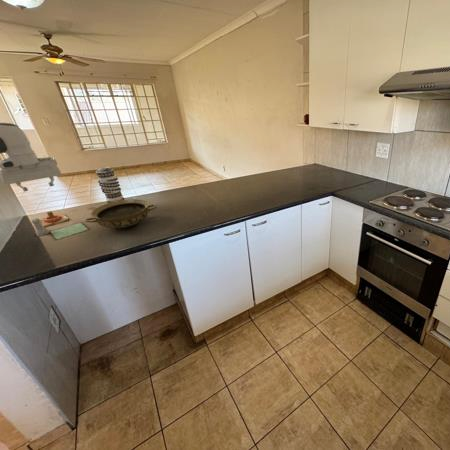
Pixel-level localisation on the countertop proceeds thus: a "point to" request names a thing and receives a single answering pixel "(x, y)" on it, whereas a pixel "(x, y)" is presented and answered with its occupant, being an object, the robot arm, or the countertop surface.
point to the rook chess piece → (39, 227)
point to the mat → (68, 231)
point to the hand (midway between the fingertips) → (39, 188)
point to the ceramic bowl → (121, 213)
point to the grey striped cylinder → (109, 184)
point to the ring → (47, 219)
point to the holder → (52, 218)
